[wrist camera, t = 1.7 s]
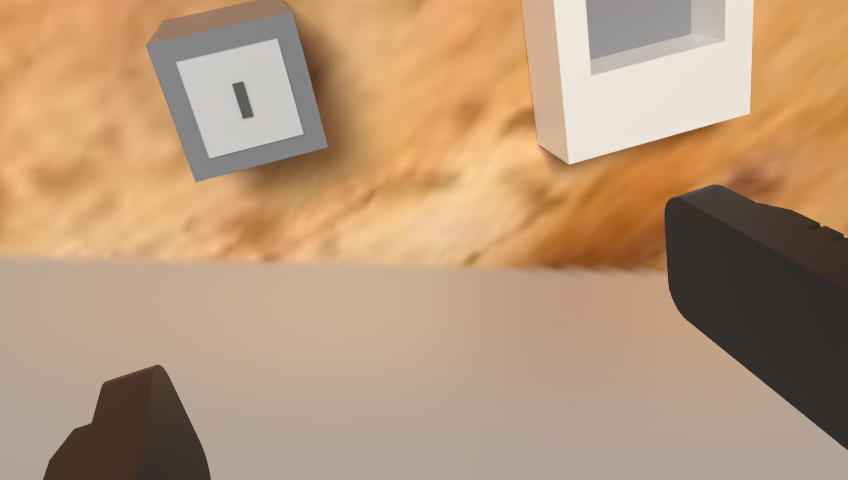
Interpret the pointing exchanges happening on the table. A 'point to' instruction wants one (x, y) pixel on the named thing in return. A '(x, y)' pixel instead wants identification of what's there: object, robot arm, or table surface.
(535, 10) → the power strip
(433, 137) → the table surface
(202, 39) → the block
